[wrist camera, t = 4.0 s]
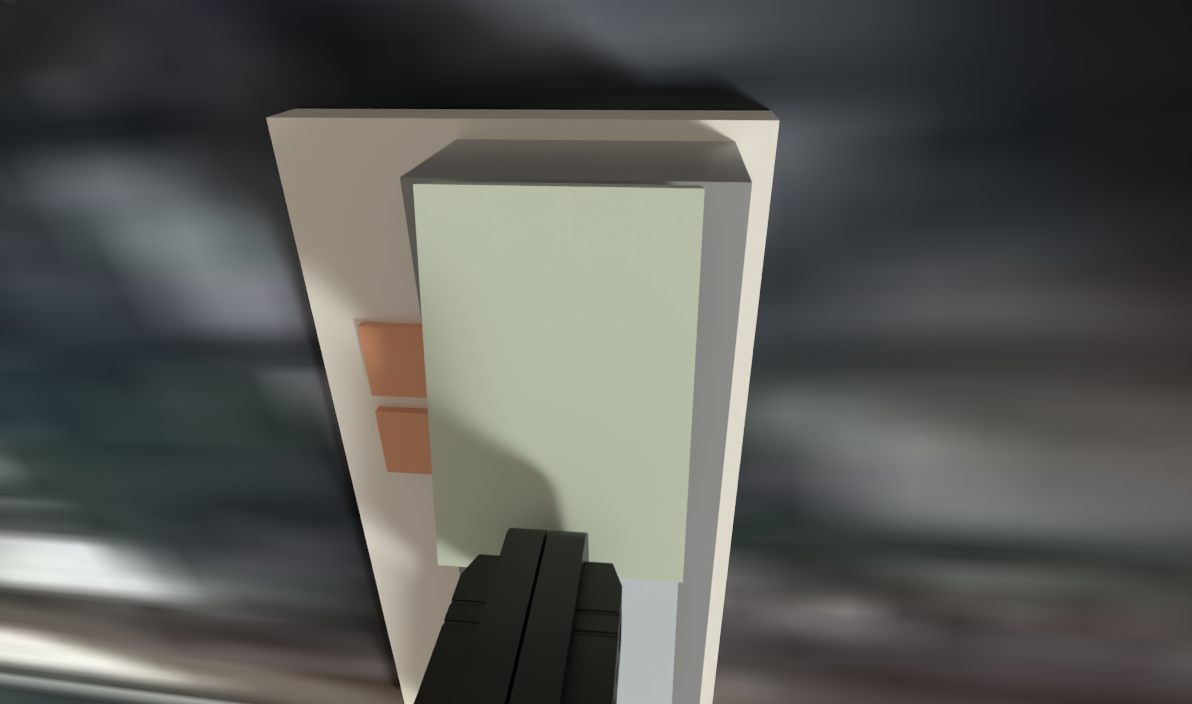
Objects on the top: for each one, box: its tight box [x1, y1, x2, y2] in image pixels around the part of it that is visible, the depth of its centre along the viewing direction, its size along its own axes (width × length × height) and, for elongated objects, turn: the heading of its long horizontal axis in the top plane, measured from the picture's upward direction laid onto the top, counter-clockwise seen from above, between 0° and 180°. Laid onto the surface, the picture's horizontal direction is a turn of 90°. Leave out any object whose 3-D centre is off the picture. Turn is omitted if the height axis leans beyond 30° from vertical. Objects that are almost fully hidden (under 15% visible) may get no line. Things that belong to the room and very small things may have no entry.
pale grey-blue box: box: [617, 578, 678, 704], centre depth 18 cm, size 8×5×2 cm, turn 1°
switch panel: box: [266, 109, 779, 704], centre depth 22 cm, size 26×13×6 cm, turn 1°
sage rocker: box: [413, 181, 705, 583], centre depth 13 cm, size 8×5×2 cm, turn 1°
